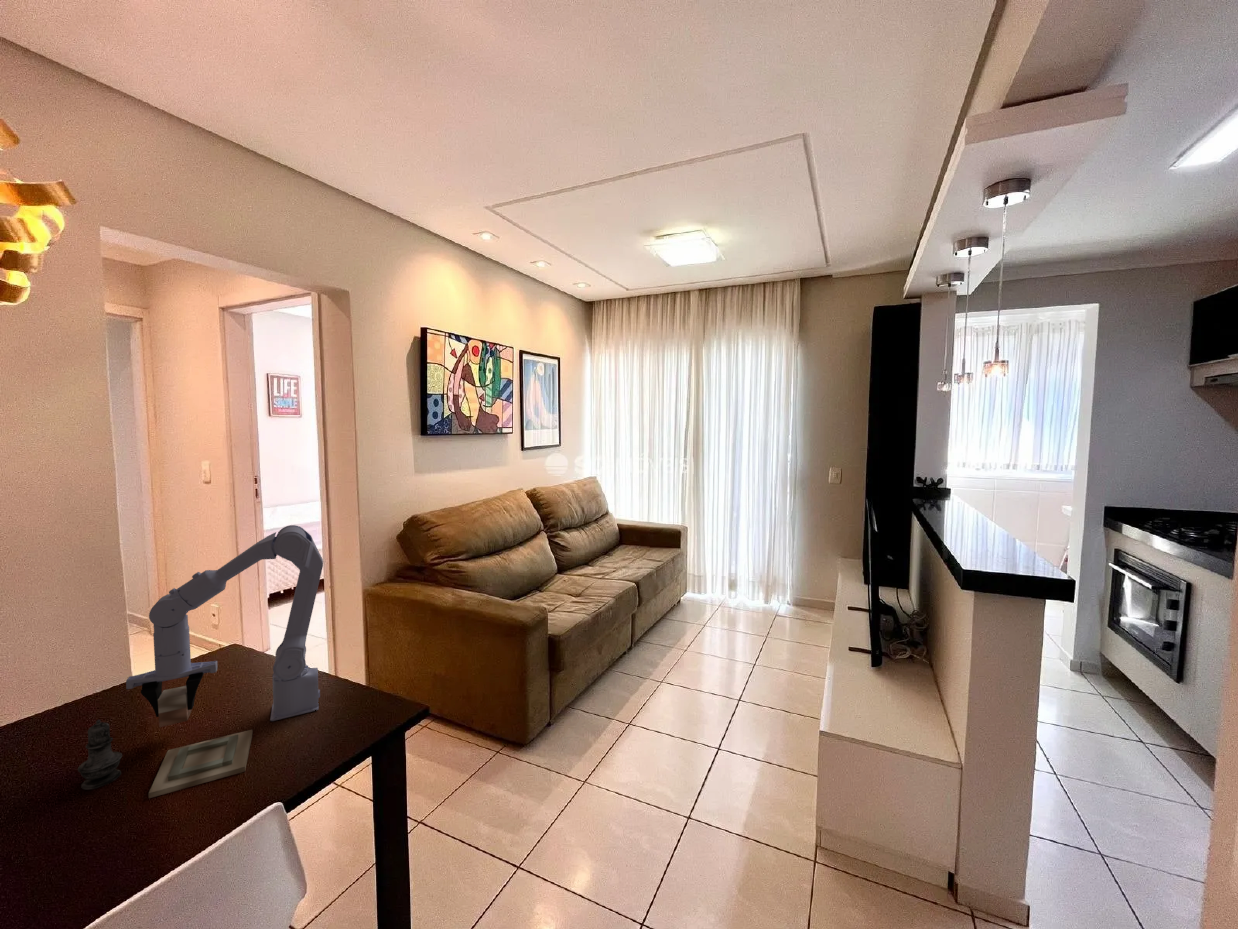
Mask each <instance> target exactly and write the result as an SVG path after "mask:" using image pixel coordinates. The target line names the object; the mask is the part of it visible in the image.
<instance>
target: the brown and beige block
mask: <svg viewBox="0 0 1238 929" xmlns="http://www.w3.org/2000/svg"><path fill="white" fill-rule="evenodd" d="M187 705H188V694H187V687H186V685H183V686H179V687H173V688H168V689H162V694H161V695H160V697H159V699H158V713H159V717H158V728H162V727H166V726H167V727H168V726H170V725H176V724H179V723H183V722H188V720H189V718H190V715H191V713H192V710H193V708H192V709H191V710H188V706H187Z"/></svg>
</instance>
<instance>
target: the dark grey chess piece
mask: <svg viewBox="0 0 1238 929" xmlns="http://www.w3.org/2000/svg"><path fill="white" fill-rule="evenodd" d="M110 729H111V728H110V724H109V723H108V722H105V721H103V722H102V720H101V719H99V718H98V719H97V720H96V721H95V724H93V725H91V726H89V728H88V730H87V738H88V739H87V740H88V742H87V743H86V745H85V749H87V751H88V752H87V755H88V757H87V760H85V761H84V762H82V763H81V764H80V765H79V766H78V768H77V771H78V773H80V775H81V776H82V778H84V779H85V780H84V781H83V782H82V783H81V785H80V787H81V789H82V790H88V791H89V790H96V789H98V788H101V787H104V786H106V785H109V784H111V783H112V782H114V781H116V780H117V779H118V778H119V777H121V775H122V771H121V769H118V767H119V765H120V762H121V759H122V757H123V753H122V752H120V751H113V750H112V742H113V740H114V739H113V738H114V737H112V736H111V730H110Z"/></svg>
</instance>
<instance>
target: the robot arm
mask: <svg viewBox="0 0 1238 929" xmlns="http://www.w3.org/2000/svg"><path fill="white" fill-rule="evenodd" d="M277 556H279V557H280V558H282V559H284V560H287V561H289V562H291V563H292V564H293V565H294V566H295V567H296V568H297V569H298V570H299V573H298V577H297V581H296V585H295V586H296V587H295V590H294V595H293V599H292V603H291V607H290V612H289V616H288V619H287V624H286V629H285V633H284V634H283V635H284V636H283V639H282V641H281V643H280V644H279V645H278V647H277V648H276V650H275V659H274V663H273V666H272V671H273V673H272V674H271V675H272V678H271V679H272V701H273V702H272V705H271V711H270V712H271V713H270V719H269V721H270V722H275V721H278V720H282V719H283V720H284V719H287V718H291V717H295V716H299V715H305V714H308V713H311V712H316V711H318V710H319V707H320V706H319V705H320V704H319V703H318V702H319V698H321V689H319V673H318V672H319V671H318V670H319V668H318V667H312V668H311V667H309V665H307V664H306V663H307V662H306V653H307V646H306V642H307V635H308V632H309V628H310V623H311V618H312V614H313V609H314V606H315V601H316V598H317V592H318V588H319V585H320V580H321V576H322V571H323V568H324V559H323V556H322V555H321V552H320V550H318V547H317V545H316V543H315V542H314V540H313V537H312V535H311V534H310V533H309V532H308V531H307V530H306V529H304V528H303V527H301V526H299V525H296V524H293V525H292V524H291V525H286V526H283V527H282V528H281V529H279V531H278V532H273V533H271V534H270V535H269V534H268V535H267V536H266V537H264V538H263V539H260V540H259V541H257V542H255V543H254V544H253V545H252V546H250V547H248V548H247V549H245V550H244V551H243V552H241V553H239V554H238V555H237V556H236V557H234V558H232V559H231V560H230V561H228V562H226V563H225V564H224V565H222V566H221V567H220V568H218V569H206V570H204V571H202V572H200V571H197V572H195V573H194V574H193V575H192V576H191V579H190V580H188V581H187V582H185V583H184V584H182V585H180V586H179V587H177V588H175V587H174V588H172V589H170V590H169V591H168V594H166V595H164V596H161V597H160V598H159V599H158V600H157V601H156V603H155V604H154V605H153V606H152V607H151V608H150V611H149V613H148V619H149V620H150V621H149V622H151V623H152V625H153V626H152V627H153V634H152V637H153V651H154V652H153V654H154V656H153V657H154V670H151V671H147V672H144V673H140V674H135V675H131V676H128V677H127V679H126V680H125V685H126V686H125V687H126V690H132V689H134V688H135V687H140V686H141V689H140V694H141V696H142V697H144V698H145V699H146V700H147V702H148V703H149V705H151V707H152V709H153V712H154V713H155V717H156V718H159V713H158V699H159V697H160V695H161V694H162V692H163V682H166V681H171V680H177V679H182V678H183V679H184V678H187V680H186V681H185V686H186V687H187V694H188V705H187V706H188V710H191V709H192V710H193V708H194V707H195V698H196V695H197V691H198V689H199V685H200V683H201V682H202V679H203V677H204V675H205V674H208V673H209V674H214V673H215V674H216V673H217V671H218V660H214V661H203V662H201V661H200V662H199V661H198V662H192V659H191V639H190V626H189V616H188V613H189V612H190V611H193V610H196V609H197V608H199V607H201V606H203V605H204V604H205V603H207V602H208V601H209V600H211V599H213V598H214V597H216V596H217V595H218V594H220V593H222V592H223V591H225V590H226V586H227V582H228V581H230V580H231V579H233V578H234V577H236V576H237V575H239V574H240V573H243V571H244V572H245V570H248V568H251V566H253V565H255V564H257V563H258V562H260V561H262V560H276V558H277ZM315 710H316V711H315Z"/></svg>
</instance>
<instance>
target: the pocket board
mask: <svg viewBox="0 0 1238 929" xmlns="http://www.w3.org/2000/svg"><path fill="white" fill-rule="evenodd" d="M253 732H254V730H253V729H249V730H245V731H241V732H235V733H231V734H228V735H224V736H220V737H215V738H212V739H207V740H203V741H200V742H196V743H191V744H188V745H183V746H180V747H176V748H172V749H168V750H167V752H166V753H165V757H164V759H163V760H162V762H161V765H160V766H159V770H158V772H157V774H156V776H155V778H154V781H153V783H152V784H151V787H150V789H149V791H148V799H151V798H155V797H159V796H161V795H162V796H163V795H166V794H169V793H173V792H177V791H181V790H185V789H188V788H191V787H194V786H199V785H201V784H204V783H208V782H213V781H215V780H216V781H217V780H220V779H223V778H227V777H230V776H233V775H238V774H241V773H244V772H246V769H247V763H248V759H249V753H250V748H251V743H252V740H253V734H254V733H253Z"/></svg>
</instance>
